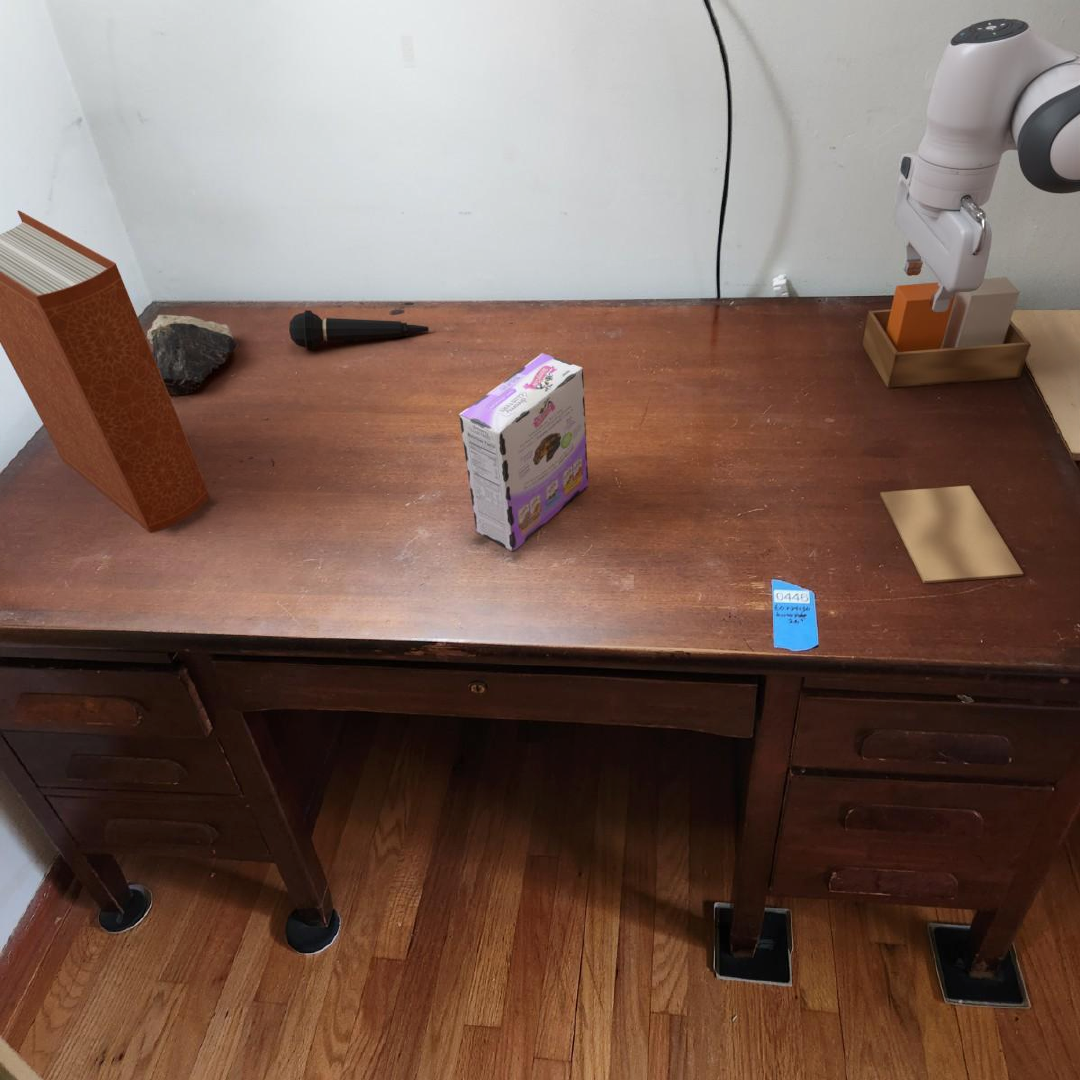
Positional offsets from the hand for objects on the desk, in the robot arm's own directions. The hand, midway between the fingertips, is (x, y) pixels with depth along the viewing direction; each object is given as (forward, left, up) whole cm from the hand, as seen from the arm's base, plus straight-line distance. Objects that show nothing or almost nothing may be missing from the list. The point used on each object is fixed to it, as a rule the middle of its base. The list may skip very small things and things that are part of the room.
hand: (924, 290), depth 114 cm
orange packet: (0, 0, -10) cm, 10 cm away
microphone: (+75, -16, -11) cm, 77 cm away
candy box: (+51, +24, -11) cm, 57 cm away
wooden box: (-4, 0, -11) cm, 11 cm away
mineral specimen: (+98, -12, -11) cm, 99 cm away
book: (+100, +13, -11) cm, 101 cm away
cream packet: (-8, 0, -10) cm, 13 cm away
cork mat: (+7, +33, -11) cm, 35 cm away
